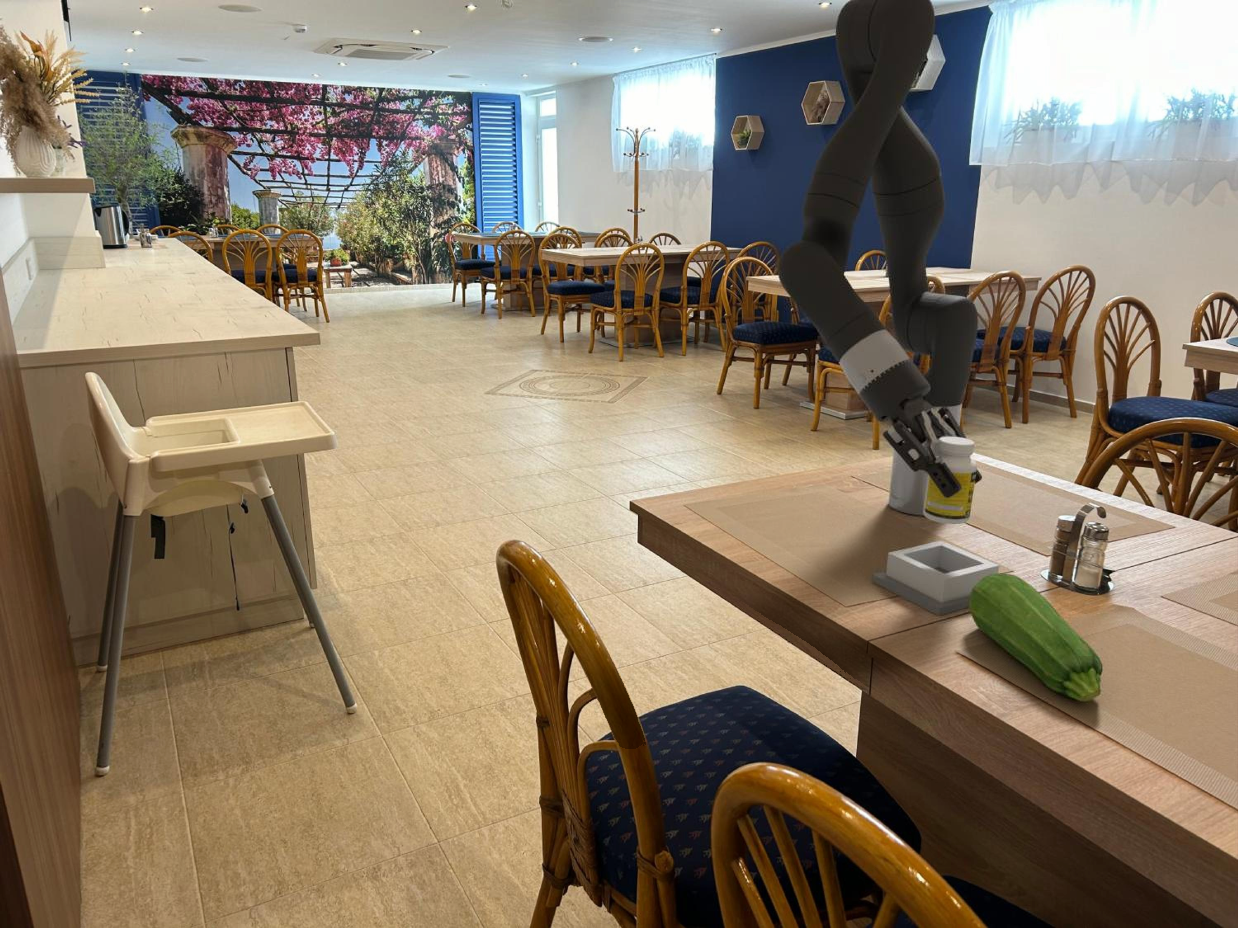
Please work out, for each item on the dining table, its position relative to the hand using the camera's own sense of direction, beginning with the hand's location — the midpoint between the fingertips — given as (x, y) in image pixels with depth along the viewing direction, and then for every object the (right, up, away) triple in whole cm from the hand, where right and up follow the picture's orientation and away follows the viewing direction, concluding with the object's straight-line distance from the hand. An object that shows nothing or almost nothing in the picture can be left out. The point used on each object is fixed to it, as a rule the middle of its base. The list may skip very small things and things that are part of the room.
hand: (965, 488), depth 108 cm
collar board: (-1, -13, +5) cm, 14 cm away
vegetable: (+2, -18, -13) cm, 22 cm away
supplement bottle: (-1, -4, +2) cm, 5 cm away
